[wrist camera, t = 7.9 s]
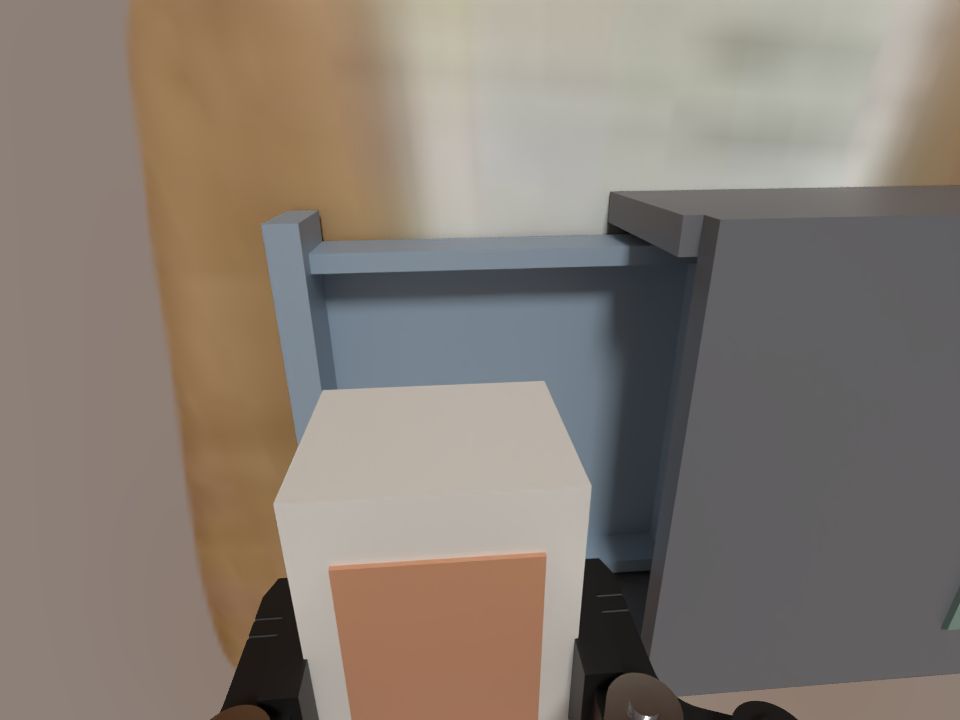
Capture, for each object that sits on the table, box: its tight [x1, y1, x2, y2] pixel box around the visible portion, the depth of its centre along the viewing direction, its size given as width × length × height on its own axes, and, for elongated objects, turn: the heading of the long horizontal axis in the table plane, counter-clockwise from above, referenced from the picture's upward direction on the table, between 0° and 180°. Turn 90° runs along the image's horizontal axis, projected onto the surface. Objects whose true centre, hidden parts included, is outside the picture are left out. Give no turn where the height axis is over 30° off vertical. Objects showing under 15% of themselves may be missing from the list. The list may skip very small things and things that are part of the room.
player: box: [608, 185, 960, 697], centre depth 18 cm, size 14×16×7 cm
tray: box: [261, 210, 698, 573], centre depth 19 cm, size 14×15×3 cm
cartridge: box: [273, 381, 592, 720], centre depth 12 cm, size 5×9×4 cm, turn 0°
